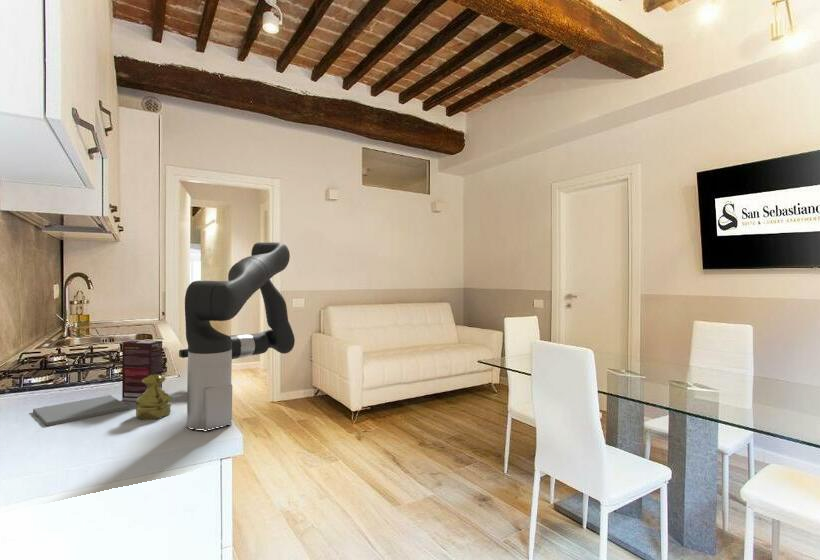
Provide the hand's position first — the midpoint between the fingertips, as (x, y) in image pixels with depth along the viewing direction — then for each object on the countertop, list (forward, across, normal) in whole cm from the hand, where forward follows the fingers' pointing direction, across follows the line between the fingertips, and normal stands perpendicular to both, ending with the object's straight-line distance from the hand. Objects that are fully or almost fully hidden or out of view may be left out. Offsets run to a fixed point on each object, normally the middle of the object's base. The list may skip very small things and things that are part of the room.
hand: (180, 353), depth 124 cm
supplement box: (+10, 0, +11) cm, 15 cm away
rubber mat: (+23, 0, +11) cm, 26 cm away
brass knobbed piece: (+13, +16, +11) cm, 23 cm away
